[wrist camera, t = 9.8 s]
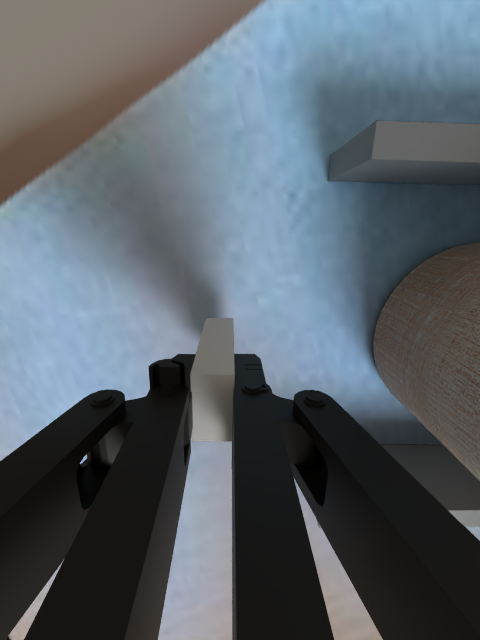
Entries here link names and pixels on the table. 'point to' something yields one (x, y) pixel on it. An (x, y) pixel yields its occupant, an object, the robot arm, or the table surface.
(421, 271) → the planter
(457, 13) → the table surface
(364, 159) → the box
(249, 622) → the robot arm
